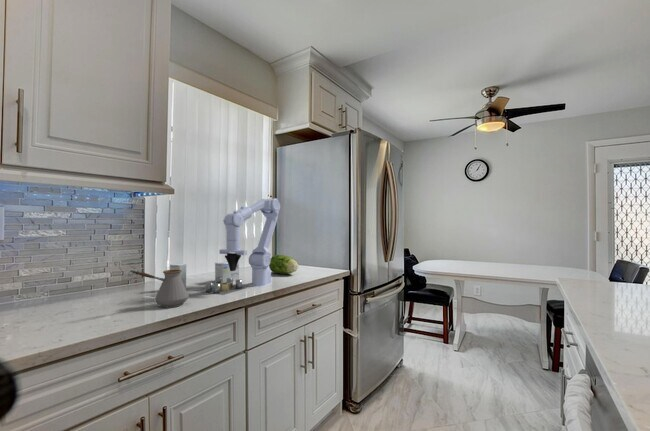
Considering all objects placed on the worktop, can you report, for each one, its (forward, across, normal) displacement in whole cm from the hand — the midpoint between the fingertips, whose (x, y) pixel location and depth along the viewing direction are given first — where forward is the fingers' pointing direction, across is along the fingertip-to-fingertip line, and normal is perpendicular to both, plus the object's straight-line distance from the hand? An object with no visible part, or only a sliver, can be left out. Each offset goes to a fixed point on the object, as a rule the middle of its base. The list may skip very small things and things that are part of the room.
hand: (232, 270), depth 140 cm
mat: (+10, -8, 0) cm, 12 cm away
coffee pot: (+10, -6, -31) cm, 33 cm away
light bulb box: (+10, -19, +16) cm, 26 cm away
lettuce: (+10, -7, +51) cm, 52 cm away
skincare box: (+10, -25, -8) cm, 29 cm away
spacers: (+9, -8, 0) cm, 12 cm away
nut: (+9, -4, 0) cm, 10 cm away
